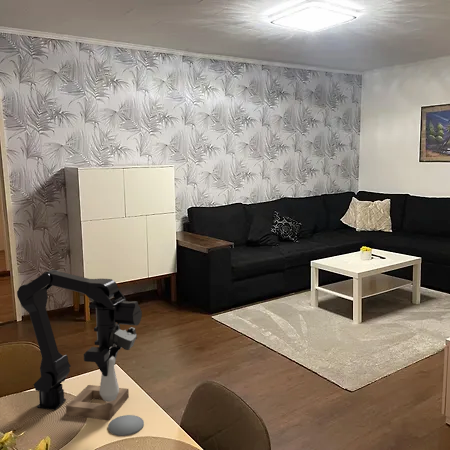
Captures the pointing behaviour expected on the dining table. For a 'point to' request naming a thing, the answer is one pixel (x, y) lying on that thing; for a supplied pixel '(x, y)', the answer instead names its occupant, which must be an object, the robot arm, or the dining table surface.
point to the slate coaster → (126, 425)
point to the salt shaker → (109, 383)
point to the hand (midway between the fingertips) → (108, 373)
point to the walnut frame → (95, 404)
